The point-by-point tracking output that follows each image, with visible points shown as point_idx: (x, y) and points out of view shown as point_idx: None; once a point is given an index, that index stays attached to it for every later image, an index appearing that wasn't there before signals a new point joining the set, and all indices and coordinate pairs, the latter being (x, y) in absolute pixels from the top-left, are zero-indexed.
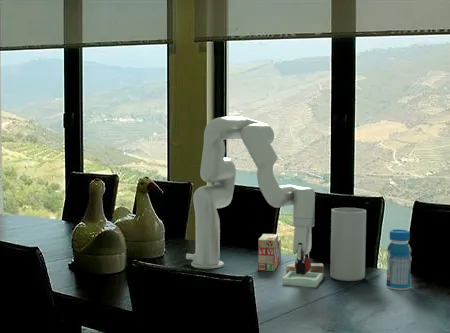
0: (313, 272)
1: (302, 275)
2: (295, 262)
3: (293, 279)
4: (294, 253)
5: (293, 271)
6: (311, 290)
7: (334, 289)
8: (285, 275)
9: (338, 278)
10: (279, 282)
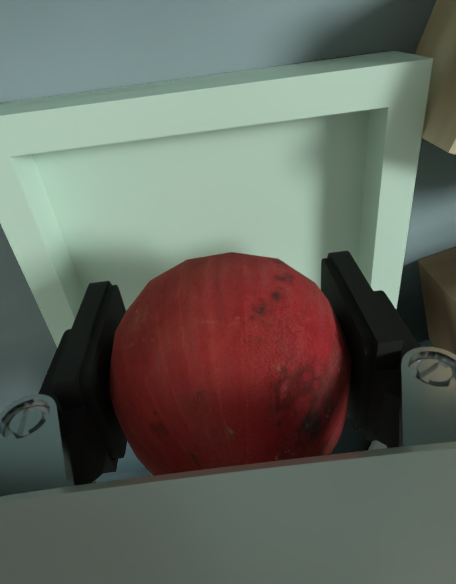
0: (442, 305)
1: (364, 220)
2: (157, 325)
3: (17, 254)
4: (4, 512)
5: (390, 122)
6: (3, 383)
7: (130, 466)
8: (109, 105)
9: (376, 440)
10: (68, 18)
